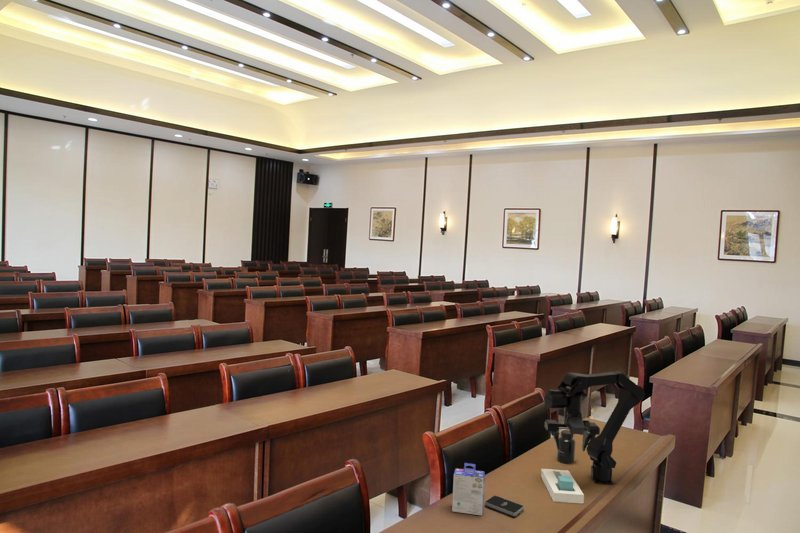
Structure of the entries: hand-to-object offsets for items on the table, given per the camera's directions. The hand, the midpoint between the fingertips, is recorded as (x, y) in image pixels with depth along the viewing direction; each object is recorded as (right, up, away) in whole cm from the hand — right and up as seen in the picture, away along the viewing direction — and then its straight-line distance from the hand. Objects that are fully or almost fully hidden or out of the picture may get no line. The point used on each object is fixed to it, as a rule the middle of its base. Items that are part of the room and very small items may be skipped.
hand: (570, 450), depth 188 cm
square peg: (-6, -12, -11) cm, 17 cm away
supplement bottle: (+5, -12, +21) cm, 25 cm away
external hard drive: (-29, -12, -22) cm, 38 cm away
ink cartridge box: (-41, -11, -24) cm, 49 cm away
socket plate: (-5, -12, -6) cm, 14 cm away
